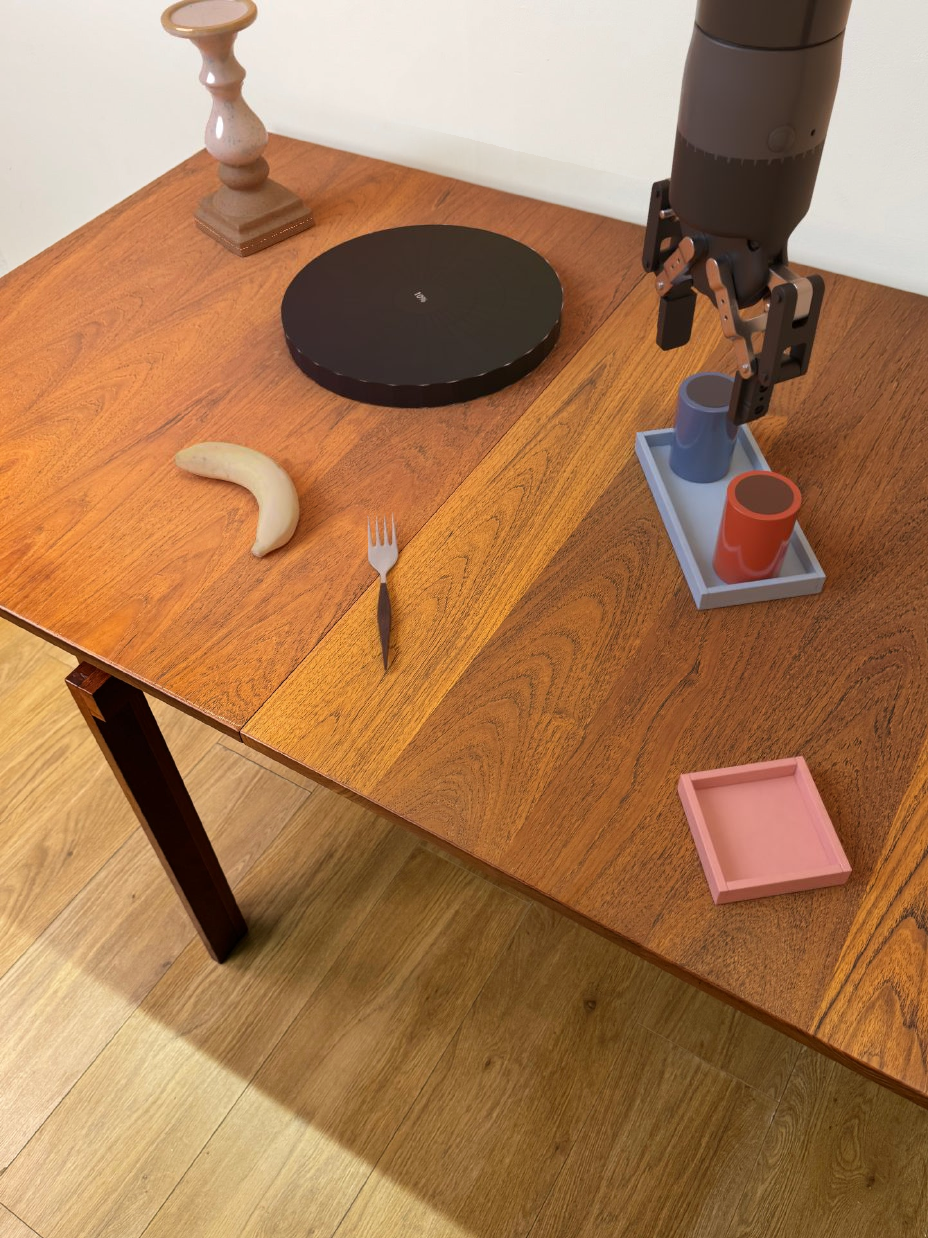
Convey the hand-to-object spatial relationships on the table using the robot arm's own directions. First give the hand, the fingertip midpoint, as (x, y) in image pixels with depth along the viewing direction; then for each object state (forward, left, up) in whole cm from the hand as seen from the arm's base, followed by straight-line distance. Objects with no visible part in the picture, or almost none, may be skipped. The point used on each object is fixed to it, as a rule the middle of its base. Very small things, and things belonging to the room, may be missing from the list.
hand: (706, 380), depth 63 cm
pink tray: (-1, +20, -22) cm, 30 cm away
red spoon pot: (-8, -3, -22) cm, 23 cm away
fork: (+22, -6, -23) cm, 32 cm away
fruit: (+34, -20, -23) cm, 46 cm away
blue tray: (-8, -10, -22) cm, 26 cm away
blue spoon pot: (-8, -16, -22) cm, 28 cm away
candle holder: (+32, -70, -23) cm, 80 cm away
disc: (+14, -45, -23) cm, 52 cm away
